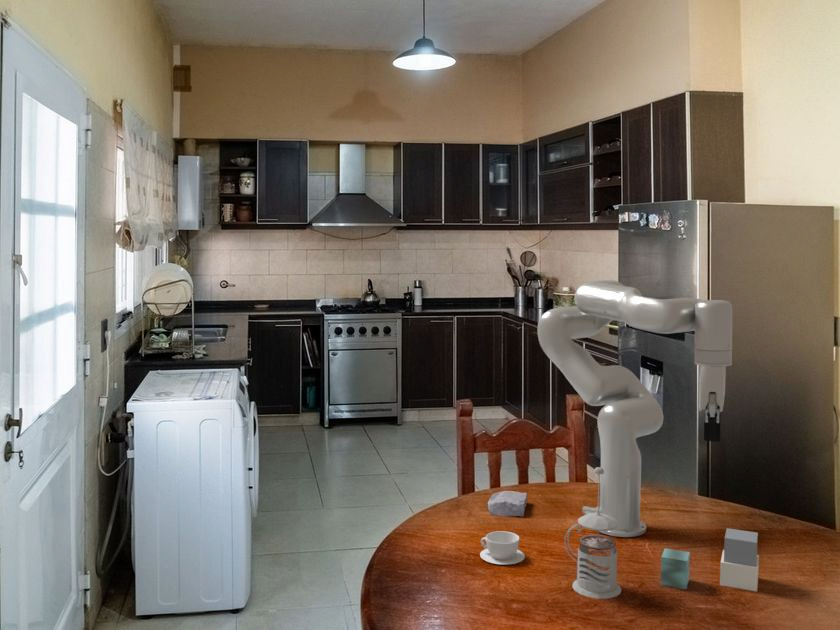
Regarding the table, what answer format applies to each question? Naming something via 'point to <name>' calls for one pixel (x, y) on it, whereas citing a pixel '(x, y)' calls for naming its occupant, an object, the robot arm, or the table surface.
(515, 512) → the stone block
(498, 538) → the teacup
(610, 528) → the french press
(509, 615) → the table surface
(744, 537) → the tower top
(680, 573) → the teal pillar
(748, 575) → the block
